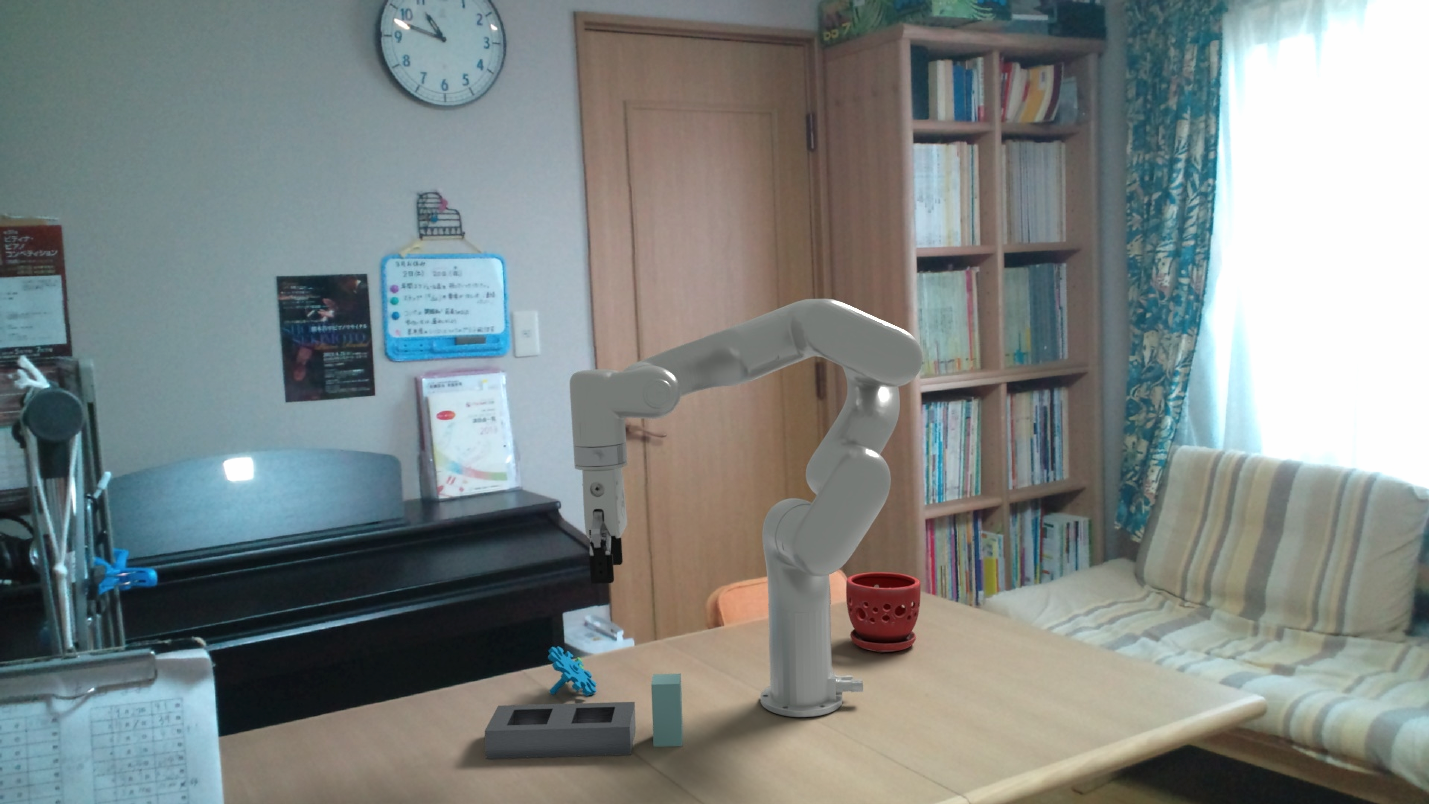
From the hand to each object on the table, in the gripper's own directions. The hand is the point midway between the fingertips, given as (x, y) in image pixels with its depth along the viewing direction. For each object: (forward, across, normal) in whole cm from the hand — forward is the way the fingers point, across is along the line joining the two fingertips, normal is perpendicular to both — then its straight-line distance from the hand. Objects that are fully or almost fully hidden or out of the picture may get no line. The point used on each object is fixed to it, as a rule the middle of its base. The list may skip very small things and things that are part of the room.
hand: (607, 573), depth 149 cm
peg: (+24, -4, -8) cm, 25 cm away
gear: (+24, +15, +9) cm, 29 cm away
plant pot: (+25, +36, -44) cm, 61 cm away
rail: (+23, -5, +7) cm, 25 cm away
